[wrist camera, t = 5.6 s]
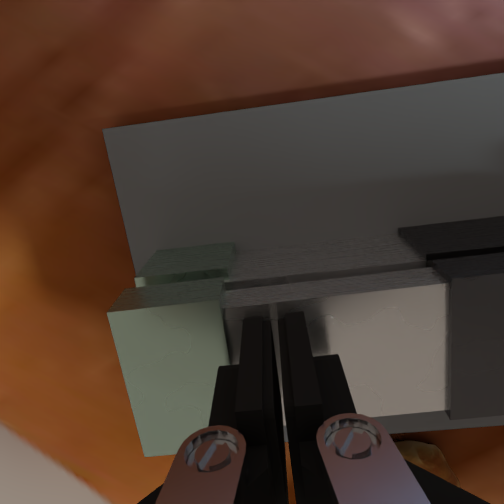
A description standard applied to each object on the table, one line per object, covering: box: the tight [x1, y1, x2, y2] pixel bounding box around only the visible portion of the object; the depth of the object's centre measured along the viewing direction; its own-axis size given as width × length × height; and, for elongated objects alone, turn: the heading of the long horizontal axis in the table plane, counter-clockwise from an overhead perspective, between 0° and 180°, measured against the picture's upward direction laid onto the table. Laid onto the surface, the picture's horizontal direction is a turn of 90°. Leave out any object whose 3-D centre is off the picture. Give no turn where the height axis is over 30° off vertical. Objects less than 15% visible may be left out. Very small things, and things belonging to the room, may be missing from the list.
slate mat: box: [102, 73, 504, 442], centre depth 17 cm, size 23×14×1 cm, turn 98°
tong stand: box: [134, 216, 504, 291], centre depth 14 cm, size 22×6×5 cm, turn 98°
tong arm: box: [107, 252, 504, 457], centre depth 12 cm, size 16×5×2 cm, turn 98°
